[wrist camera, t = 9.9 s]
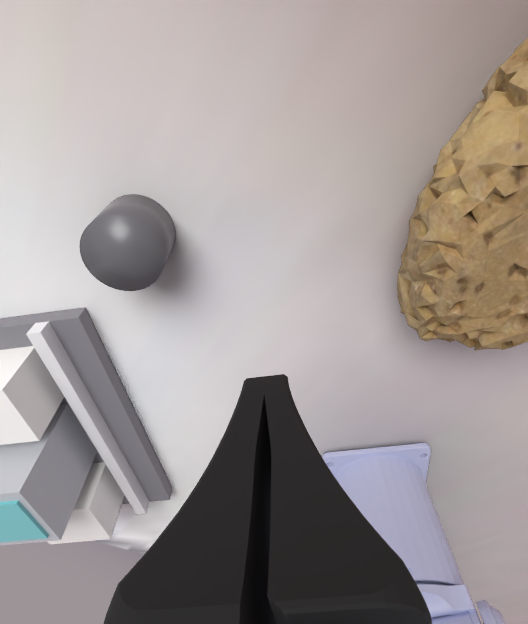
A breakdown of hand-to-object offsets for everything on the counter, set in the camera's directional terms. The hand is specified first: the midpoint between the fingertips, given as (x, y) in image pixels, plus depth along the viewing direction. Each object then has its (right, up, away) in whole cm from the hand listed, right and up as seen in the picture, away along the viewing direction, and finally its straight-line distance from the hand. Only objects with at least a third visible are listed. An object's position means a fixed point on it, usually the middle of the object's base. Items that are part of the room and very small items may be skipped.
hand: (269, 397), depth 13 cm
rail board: (-14, -5, +14) cm, 21 cm away
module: (-14, -5, +14) cm, 21 cm away
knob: (-6, +7, +7) cm, 12 cm away
